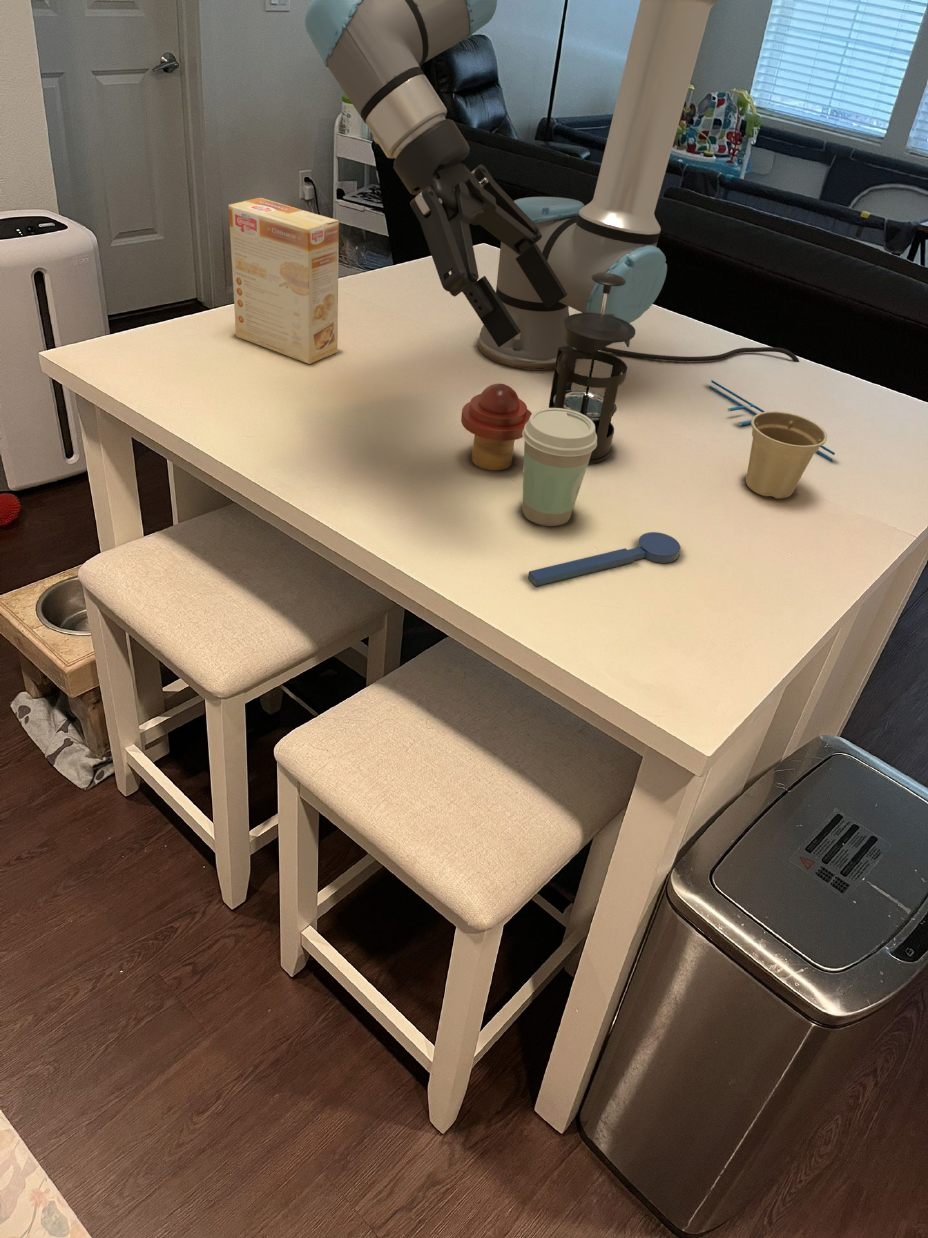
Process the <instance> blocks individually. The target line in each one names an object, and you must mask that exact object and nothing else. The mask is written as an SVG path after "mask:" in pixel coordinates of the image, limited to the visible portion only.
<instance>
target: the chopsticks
mask: <svg viewBox="0 0 928 1238" xmlns="http://www.w3.org/2000/svg"><path fill="white" fill-rule="evenodd" d="M710 383H712V384H713V385H715V386H717V387H718V388H720V389H722V390H723V391H725V392H727V393H729V394H730V395H732V396H733V397H736V398H737V399H738V400H740V401H742V402H744V403H746V404H747V406H745V405H743V404H742V403H740V402H738V401H737V400H735V399H733V398H731V397H730V396H728V395H727V394H725V393H723V392H722V391H720V390H719V389H717V388H715V387H713V386H712V385H709V387H708V388H709V389H711V390H712V391H714V392H716V393H717V394H719V395H721V396H722V397H723V398H725V399H726V400H728V401H730V402H732V403H733V404H735V405H737V406H734V407H727V412H735V411H740V410H745V411H747V412H748V413H750V414H752V415H753V416H755V415H757V414H758V413H757V412H755V411H754V410H752V409H750V408H754V409H755V410H756V411H759V413H762V412H766V411H765V410H764V409H762V408H760V407H758V405H755V404H753V403H752V402H750V401H749V400H747V399H745V398H743V397H742V396H740V395H738V394H737V393H735V392H734V391H732V390H730V389H728V388H726V386H723V385H721V384H720V383H718V382H716V381H714V380H713V379H711V381H710ZM748 405H749V406H748ZM749 407H750V408H749ZM751 420H752V419H750V420H745V421H739V423H738V425H739V426H746V425H751ZM819 448H820V449H823V450H824V451H826V452H827V453H829V454H831V455H833V456H835V455H836V452H834V451H833V450H831V449H829V448H828V447H826V446H824V444H823V445H822V446H820V447H819ZM816 453H817V454H819V455H820V456H822V457H824V458H825V459H827V460H828V461H830V462H832V461H833V458H832V457H830V456H829V455H826V453H824V452H822V451H821V450H818V451H817V452H816Z"/></svg>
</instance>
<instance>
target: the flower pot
mask: <svg viewBox="0 0 928 1238" xmlns="http://www.w3.org/2000/svg"><path fill="white" fill-rule="evenodd" d="M750 420H751V424H750V425H751V428H752V430H751V436H752V440H751V447H750V453H749V459H748V464H747V465H748V466H747V471H746V476H745V482H746V486H747V488H749V490H751V491H752V492H754V493H756V494H757V495H760V496H762V497H773V498H774V499H785V498H788V497H790V496H791V495H793V493H794V491H795V489H796V488H797V486H798V483H799V482H800V480H801V478H802V476H803V474H804V473H805V471H806V470H807V467H808V466H809V464H810V462H811V460H812V458H813V456H814V455H815V454H816V453H817V451H819V449H820V448H821V447H820V446H822V445H823V446H824V445H825V443H826V442H827V441H828V433H827V431H826V430H825V429H824V428H823V427H822V426H821V425H819V424H818V423H816V422H814V421H813V420H811V419H809V418H806V417H804V416H802V415H798V414H795V413H791V412H787V411H786V412H785V411H780V410H779V411H778V410H775V411H774V410H768V411H765V412H759V413H757V415H753V417H752V418H751V419H750Z"/></svg>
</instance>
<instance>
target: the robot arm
mask: <svg viewBox="0 0 928 1238" xmlns="http://www.w3.org/2000/svg"><path fill="white" fill-rule="evenodd" d="M718 2H720V0H640V1H639V6H638V10H637V14H636V17H635V23H634V25H633V31H632V35H631V39H630V43H629V47H628V52H627V56H626V60H625V64H624V67H623V68H624V69H623V72H622V77H621V81H620V84H619V89H618V94H617V98H616V102H615V107H614V111H613V114H612V119H611V123H610V127H609V130H608V135H607V139H606V144H605V147H604V152H603V156H602V160H601V165H600V168H599V173H598V176H597V181H596V186H595V190H594V194H593V198H592V200H591V201H590V202H589V203H587V204H586V205H585V204H584V203H583V201H580V200H578V199H573V198H568V197H567V198H566V197H559V196H557V197H556V196H530V197H523V198H518V199H515V200H513V199H512V198H511V197H510V196H509V195H508V193H506V192H505V190H504V189H503V188H502V187H501V186H500V185H499V184H498V183H497V182H496V181H495V180H494V178H493V177H492V175H491V174H490V172H489V171H488V169H487V168H486V166H485V165H483V164H479V165H478V166H477V167H475V168H474V169H473V170H472V171H470V170H469V168H468V167H467V166H466V165H465V159H466V158H467V157H468V156H469V154H470V150H471V149H470V146H469V143H468V141H467V140H466V139H465V137H464V135H463V134H462V133H461V131H460V129H459V127H458V126H457V124H456V123H455V121H454V120H453V119H450V118H446V117H447V113H448V109H447V107H446V106H445V104H444V102H443V101H442V100H441V98H440V96H439V95H438V94H437V92H436V90H435V88H434V87H433V85H432V84H431V81H429V79H428V78H427V76H426V75H425V73H424V71H423V70H422V68H421V66H422V65H424V64H425V63H426V62H428V61H430V60H431V59H433V58H434V57H437V56H438V55H440V54H442V53H443V52H445V51H447V50H448V49H450V48H452V47H453V46H455V45H457V44H459V43H461V42H463V41H464V40H468V39H470V38H471V37H472V36H473V34H475V33H476V32H477V31H479V30H480V29H481V28H483V27H484V26H485V25H487V24H488V23H489V22H491V20H492V19H493V18H494V15H495V13H496V11H497V10H496V9H497V6H498V0H312V1H311V2H310V3H309V5H308V7H307V9H306V13H305V16H304V27H305V30H306V32H307V34H308V36H309V39H310V41H311V43H312V45H313V46H314V47H315V49H316V51H317V52H318V54H319V56H320V58H321V59H322V61H323V64H324V66H325V67H326V68H328V70H329V71H330V73H331V74H332V76H333V77H334V78H335V80H336V82H337V83H338V84H339V86H340V87H341V90H342V91H343V93H345V95H346V97H347V98H348V100H349V101H350V103H351V105H352V106H353V107H354V109H355V110H356V112H357V114H358V115H359V116H360V118H361V119H362V121H363V123H364V124H365V125H366V126H367V128H368V129H369V131H370V133H371V135H372V137H373V141H374V142H375V144H377V145H379V148H381V151H382V152H383V153H384V155H385V156H386V158H388V159H394V161H393V167H392V168H393V170H394V171H395V173H396V174H397V176H398V177H399V179H400V181H401V182H402V183H403V185H404V186H405V188H406V189H407V191H408V192H409V193H410V194H411V195H413V196H415V197H414V198H413V199H412V200H411V201H410V202H409V206H410V208H411V209H412V211H413V213H414V215H415V217H416V218H417V220H418V222H419V223H420V227H421V230H422V232H423V235H424V238H425V241H426V244H427V246H428V247H427V248H428V249H429V252H430V256H431V258H432V260H433V263H434V267H435V270H436V272H437V275H438V278H439V280H440V284H441V287H442V288H443V290H445V292H449V294H450V295H451V296H452V297H457V296H458V295H460V294H461V293H463V295H464V296H465V298H466V300H467V301H468V303H469V305H470V306H471V308H472V309H473V310H474V312H475V313H476V315H477V317H478V318H479V320H480V321H481V322H482V327H481V329H480V332H479V336H478V343H477V345H478V349H479V351H480V352H481V353H482V354H483V355H484V356H485V357H487V358H488V359H490V360H492V361H494V362H496V363H499V364H502V365H505V366H508V367H513V368H517V369H523V370H537V371H539V370H551V369H555V364H556V358H557V352H558V348H559V347H565V346H570V345H568V344H567V342H566V341H565V335H566V328H565V327H564V320H565V319H566V317H568V316H570V312H569V311H570V310H569V308H571V309H573V310H576V311H577V312H579V313H599V314H601V309H602V304H603V299H604V293H603V285H602V284H599V283H597V282H595V281H593V280H592V278H591V277H592V275H594V274H596V273H611V274H615V275H618V276H620V277H622V278H624V279H625V280H626V283H625V284H624V285H622V286H611V290H610V294H607V299H606V304H605V309H604V314H605V315H610V316H613V317H617V318H619V319H622V320H624V321H626V322H628V323H629V324H631V323H633V322H635V321H636V320H638V319H639V318H641V317H642V316H643V315H644V313H645V312H647V311H648V310H649V309H650V308H651V306H653V304H654V303H655V302H656V300H657V298H658V297H659V294H660V293H661V291H662V290H663V286H664V283H665V281H666V277H667V272H668V264H667V263H666V261H667V259H666V256H665V253H664V252H663V251H662V250H661V249H660V248H659V247H657V246H658V245H657V244H658V242H659V238H660V234H661V230H662V229H661V228H662V227H661V226H660V224H659V222H658V220H657V218H656V216H655V212H656V208H657V204H658V200H659V197H660V194H661V189H662V186H663V182H664V179H665V175H666V171H667V168H668V164H669V160H670V157H671V153H672V149H673V146H674V143H675V139H676V135H677V132H678V129H679V128H678V127H679V124H680V120H681V118H682V114H683V109H684V106H685V103H686V99H687V97H688V93H689V88H690V85H691V80H692V77H693V74H694V70H695V67H696V64H697V63H696V62H697V59H698V56H699V52H700V48H701V45H702V41H703V37H704V34H705V30H706V26H707V23H708V19H709V16H710V13H711V9H712V8H713V7H714V5H716V4H717V3H718ZM470 225H472V226H480V227H482V228H483V229H484V230H486V231H487V232H488V233H490V234H491V235H492V236H494V237H495V238H496V239H497V240H499V241H500V247H499V257H498V258H499V259H498V267H497V279H496V287H495V289H494V287H493V286H492V284H491V283H490V281H489V279H488V278H487V276H486V275H484V276H481V278H480V275H479V271H478V266H477V265H478V264H477V260H476V254H475V249H474V244H473V239H472V234H471V228H470ZM570 347H571V346H570ZM572 348H573V347H572ZM599 351H601V352H605V353H608V354H613V355H614V354H615V355H621V356H627V357H633V358H639V359H645V360H646V359H647V360H655V361H656V360H658V361H671V362H710V361H711V362H712V361H719V360H723V359H724V360H725V359H726V358H729V357H732V356H735V355H737V354H743V353H780V354H784V355H786V356H788V357H790V359H791V360H792V361H793V362H795V363H800V359H799V358H798V357H797V355H796V354H795V353H793V352H792V351H790V350H788V349H786V348H783V347H776V346H759V347H758V346H757V347H740V348H735V349H732V350H730V351H727V352H724V353H720V354H715V355H705V356H704V355H703V356H701V355H700V356H681V355H664V354H655V353H654V354H653V353H651V354H650V353H644V352H637V351H629V350H624V349H618V348H614V347H613V348H612V347H608V346H606V347H604V348H602V349H601V350H599Z"/></svg>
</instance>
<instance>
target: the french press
mask: <svg viewBox="0 0 928 1238" xmlns="http://www.w3.org/2000/svg"><path fill="white" fill-rule="evenodd" d="M591 278H592V280H593V281H595V282H597V283H599V284H602V285H603V293H604V299H603V304H602V309H601V314H599V313H582V312H579V313H578V312H577V313H572V314H569V316H568V317H566V319H565V320H564V327H565V328H566V335H565V341H566V342H567V344H568V345H570V346H571V347H570V346H565V347H559V348H558V352H557V358H556V364H555V368H554V371H553V377H552V383H551V389H550V394H549V402H548V408H562V409H568V410H572V411H576V412H578V413H581V414H583V415H585V416H587V417H588V418H589V419H591V420H592V421H593V423H594V425H595V432H596V435H597V446H596V448H595V449H594V450H593V451H592V453H591V456H590V459H589V462H588V465H594V464H599V463H601V462H604V461H607V460H608V459H609V458H610V457H611V454H612V451H613V449H612V443H613V439H614V434H615V427H614V425H613V423H612V418H613V416H614V415H615V414H616V412H617V411H618V407H617V404H616V400H617V394H618V391H619V386H621V385H622V384H623V383H625V381H626V378H627V374H628V365H627V364H626V362H625V361H624V360H622V359H621V358H620V357H617V356H616V355H614V354H612V353H609V352H604V351H600V350H601V349H602V348H604V347H608V346H611V345H612V344H616V343H625V345H626V347H627V348H629V346H630V343H631V342H630V341H631V340H632V339H633V338H634V337H635V335H636V328H635V327H634V326H633V324H631V323H628V322H626V321H624V320H622V319H619V318H617V317H613V316H610V315H605V314H604V309H605V304H606V299H607V294H610V290H611V286H622V285H624V284H625V283H626V280H625V279H624V278H622V277H620V276H618V275H615V274H611V273H596V274H594V275H592V277H591ZM572 347H573V348H572ZM578 360H588V361H591V362H590V367H589V374H588V375H584V374H580V373H578V372H575V371H576V366H577V361H578ZM595 362H599V363H604V364H606V365H608V366H611V371H610V376H609V377H595V376H593V372H594V368H595V367H594V366H595ZM573 384H575V385H578V386H581V387H586V389H572V388H573ZM590 388H593V389H604V393H603V394H601V393H599V392H595V391H591V390H590Z"/></svg>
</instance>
